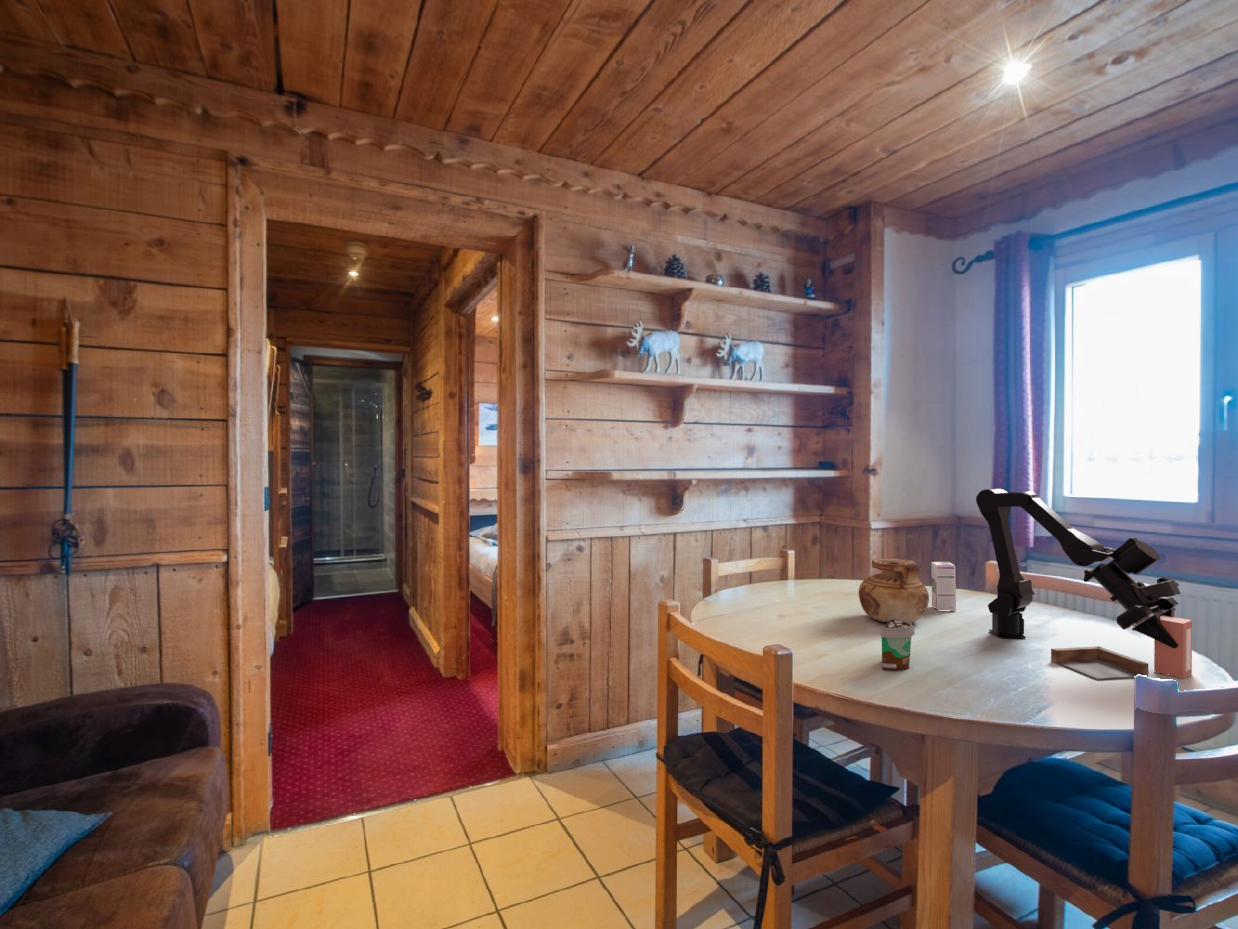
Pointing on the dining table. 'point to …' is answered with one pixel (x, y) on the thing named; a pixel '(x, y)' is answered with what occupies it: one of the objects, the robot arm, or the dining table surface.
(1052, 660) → the tray
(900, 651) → the food container
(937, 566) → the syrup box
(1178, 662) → the red block
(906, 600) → the clay pot
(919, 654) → the dining table surface
